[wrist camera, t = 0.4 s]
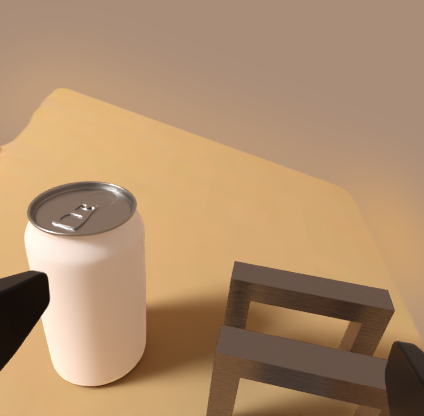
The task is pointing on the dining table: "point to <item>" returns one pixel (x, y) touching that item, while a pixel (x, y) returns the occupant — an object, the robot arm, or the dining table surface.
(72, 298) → the can
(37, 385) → the dining table surface
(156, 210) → the dining table surface
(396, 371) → the robot arm
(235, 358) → the collar
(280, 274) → the collar
